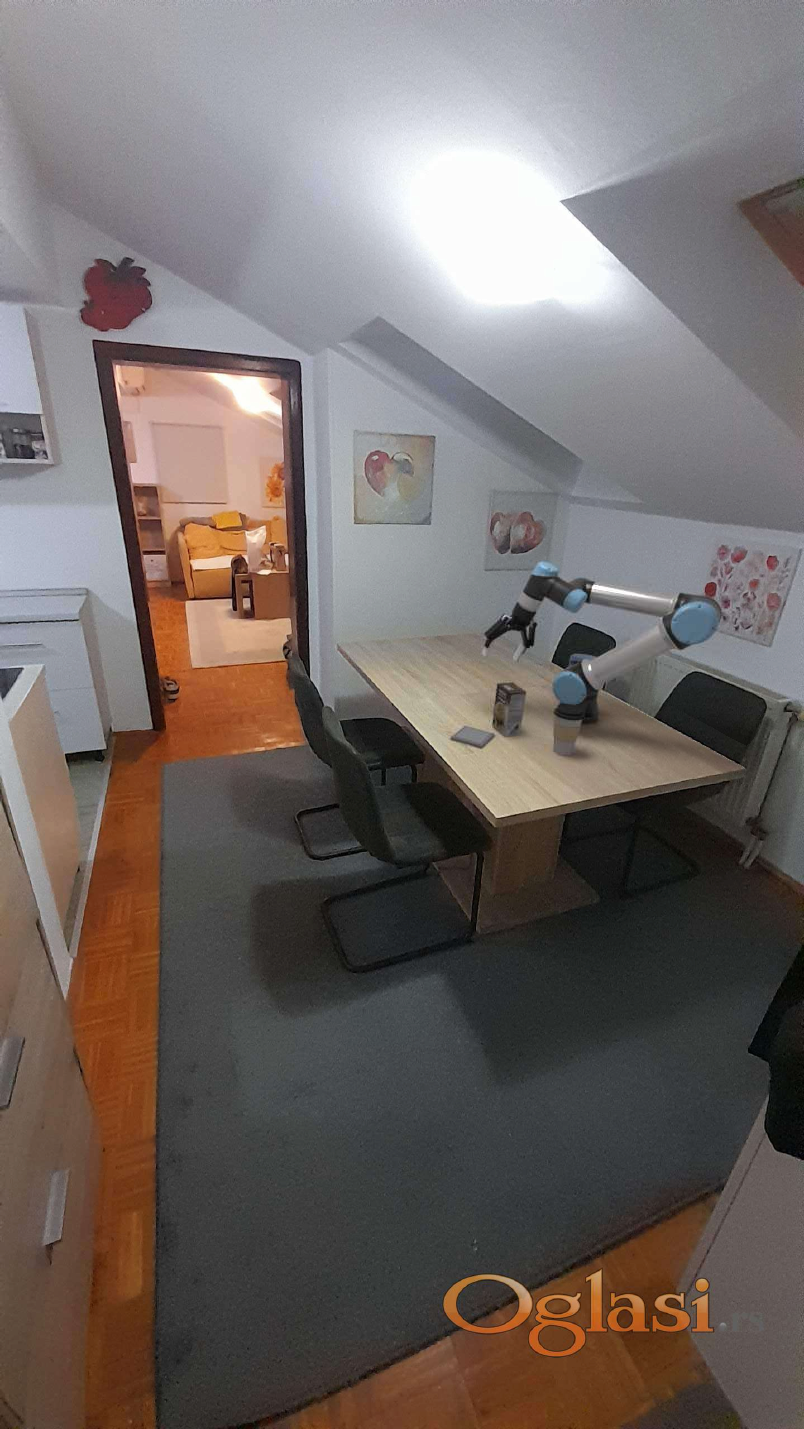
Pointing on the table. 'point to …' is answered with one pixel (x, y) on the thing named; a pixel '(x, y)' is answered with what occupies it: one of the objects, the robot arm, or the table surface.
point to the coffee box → (508, 709)
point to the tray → (473, 737)
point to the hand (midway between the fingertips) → (499, 657)
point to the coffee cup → (566, 727)
